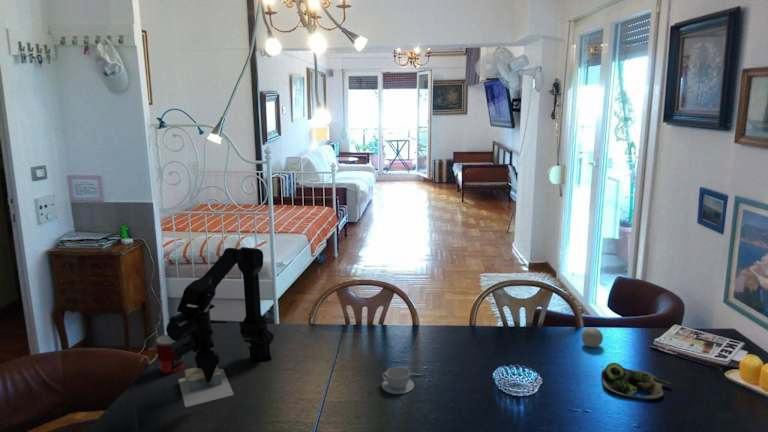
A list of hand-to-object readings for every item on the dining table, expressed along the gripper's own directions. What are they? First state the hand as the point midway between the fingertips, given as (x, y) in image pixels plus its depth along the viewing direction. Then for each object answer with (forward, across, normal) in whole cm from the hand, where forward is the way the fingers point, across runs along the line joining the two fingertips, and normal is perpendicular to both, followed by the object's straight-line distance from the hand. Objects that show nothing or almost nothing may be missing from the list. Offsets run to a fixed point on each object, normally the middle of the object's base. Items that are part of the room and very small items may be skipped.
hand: (206, 375), depth 165 cm
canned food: (+7, -24, -8) cm, 26 cm away
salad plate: (+8, +55, +115) cm, 128 cm away
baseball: (+7, +31, +125) cm, 129 cm away
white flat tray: (+7, -6, 0) cm, 9 cm away
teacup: (+8, +22, +53) cm, 58 cm away
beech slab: (+5, -5, 0) cm, 7 cm away
